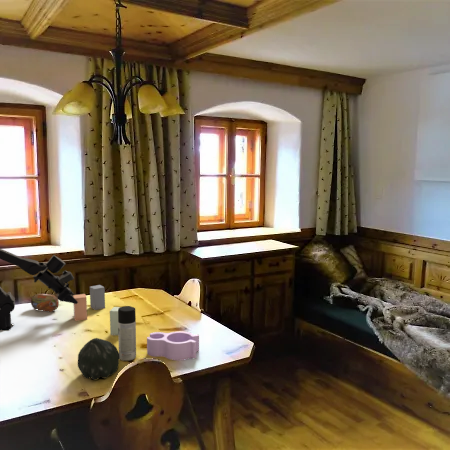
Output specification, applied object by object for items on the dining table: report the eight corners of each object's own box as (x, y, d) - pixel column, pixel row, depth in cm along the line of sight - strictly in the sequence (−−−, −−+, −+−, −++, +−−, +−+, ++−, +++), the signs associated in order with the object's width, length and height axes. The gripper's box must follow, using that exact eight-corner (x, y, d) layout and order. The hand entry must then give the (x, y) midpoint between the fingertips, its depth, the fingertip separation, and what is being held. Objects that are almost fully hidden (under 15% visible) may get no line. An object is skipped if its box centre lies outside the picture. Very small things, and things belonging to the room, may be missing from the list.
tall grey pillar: (105, 307, 240) (104, 287, 238) (94, 310, 237) (94, 289, 235) (100, 305, 244) (99, 284, 243) (90, 307, 241) (89, 286, 239)
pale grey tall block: (122, 335, 204) (122, 311, 202) (110, 335, 204) (109, 310, 203) (126, 330, 209) (126, 307, 208) (114, 330, 210) (113, 306, 208)
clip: (144, 358, 182) (143, 341, 181) (153, 345, 194) (152, 329, 193) (194, 361, 179) (194, 344, 178) (200, 348, 191) (200, 332, 190)
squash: (120, 347, 179) (93, 323, 172) (132, 364, 166) (103, 339, 159) (92, 376, 175) (64, 353, 169) (102, 395, 162) (71, 372, 156)
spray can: (128, 352, 187) (127, 304, 184) (140, 357, 183) (139, 308, 180) (115, 358, 182) (113, 308, 179) (126, 363, 177) (125, 312, 174)
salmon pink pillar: (87, 319, 224) (86, 297, 222) (75, 320, 221) (74, 298, 220) (85, 315, 229) (84, 293, 227) (74, 317, 226) (73, 295, 225)
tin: (30, 309, 237) (30, 293, 235) (35, 307, 240) (34, 292, 238) (56, 312, 232) (55, 296, 231) (60, 310, 235) (59, 294, 234)
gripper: (64, 271, 210) (90, 292, 216) (60, 262, 227) (85, 282, 233) (46, 290, 208) (73, 311, 214) (44, 280, 225) (69, 299, 231)
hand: (76, 300), depth 223 cm, fingers open, 9 cm apart
